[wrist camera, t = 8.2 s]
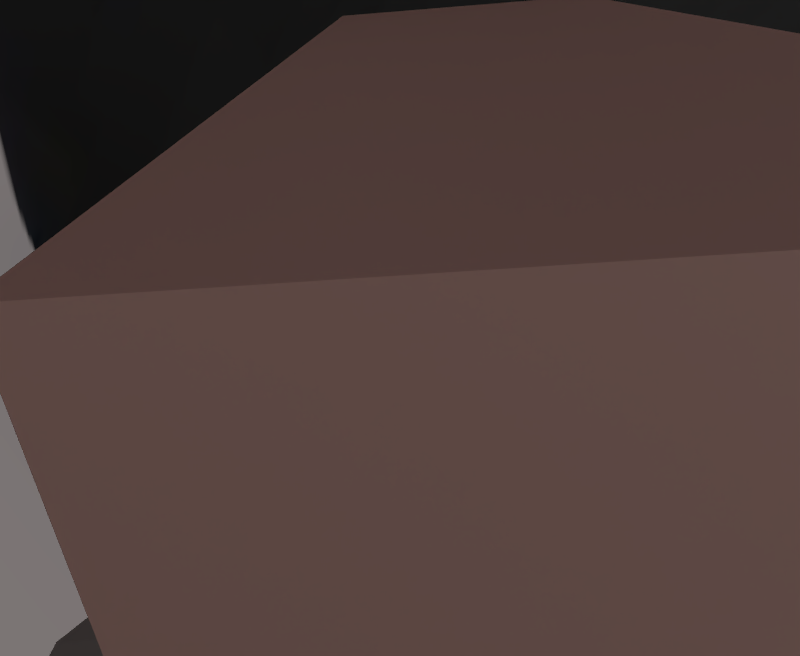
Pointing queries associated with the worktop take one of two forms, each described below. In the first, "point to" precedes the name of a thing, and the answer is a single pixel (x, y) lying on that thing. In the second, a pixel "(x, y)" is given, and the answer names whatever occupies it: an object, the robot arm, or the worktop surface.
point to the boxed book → (439, 350)
